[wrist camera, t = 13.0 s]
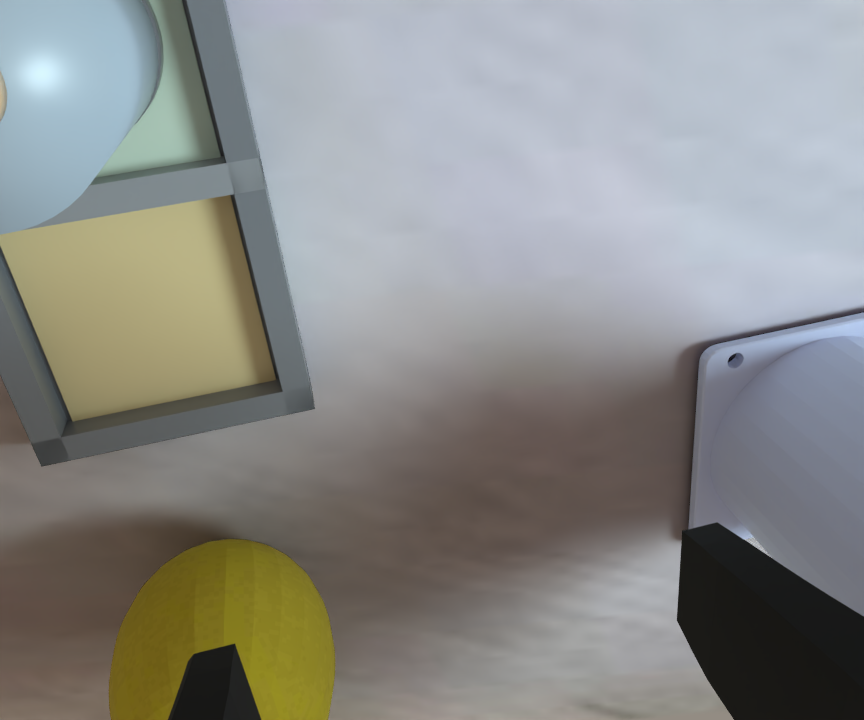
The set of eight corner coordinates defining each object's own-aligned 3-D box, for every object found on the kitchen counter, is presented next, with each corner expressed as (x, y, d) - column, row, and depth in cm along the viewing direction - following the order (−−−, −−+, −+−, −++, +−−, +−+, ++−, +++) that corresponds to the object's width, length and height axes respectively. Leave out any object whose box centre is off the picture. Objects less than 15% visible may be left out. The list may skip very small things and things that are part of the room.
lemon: (351, 577, 24) (391, 821, 17) (195, 650, 24) (174, 923, 17) (268, 452, 22) (278, 684, 15) (93, 535, 22) (20, 806, 15)
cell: (135, -79, 15) (53, -113, 9) (183, 131, 17) (143, 227, 11) (-87, -62, 14) (-345, -86, 8) (-11, 154, 16) (-173, 268, 10)
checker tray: (190, -155, 15) (186, -165, 14) (311, 386, 21) (314, 408, 20) (-189, -115, 14) (-223, -121, 13) (52, 440, 20) (41, 466, 19)
